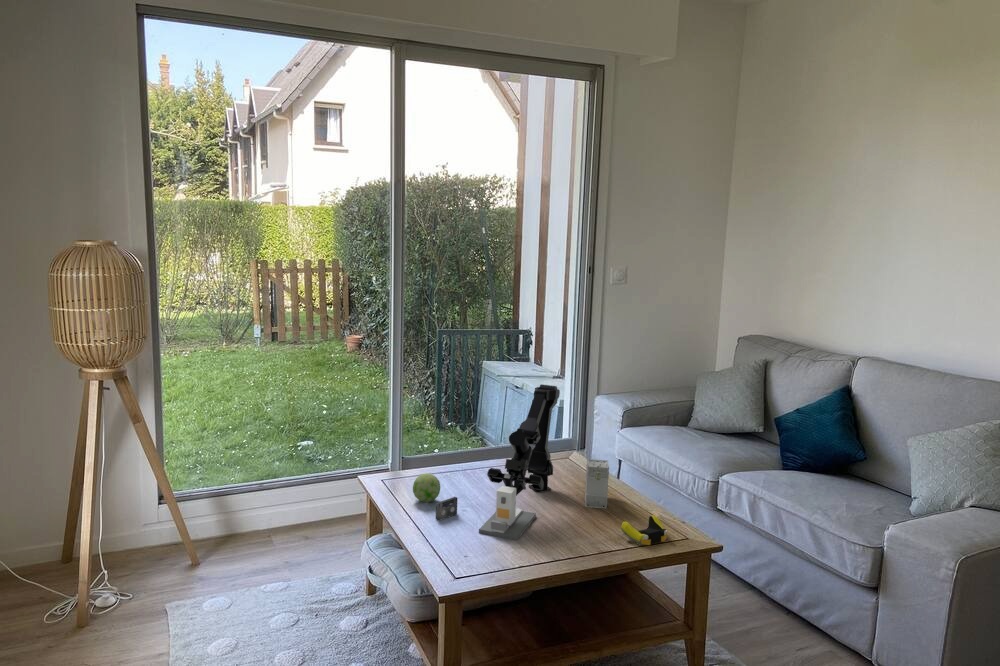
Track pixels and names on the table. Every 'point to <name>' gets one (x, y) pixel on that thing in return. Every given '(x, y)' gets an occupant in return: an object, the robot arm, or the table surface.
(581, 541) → the table surface
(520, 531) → the din rail plate
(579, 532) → the table surface
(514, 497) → the block
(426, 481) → the decorative ball
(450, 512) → the mini dv tape
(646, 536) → the gaming controller
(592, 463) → the circuit breaker
